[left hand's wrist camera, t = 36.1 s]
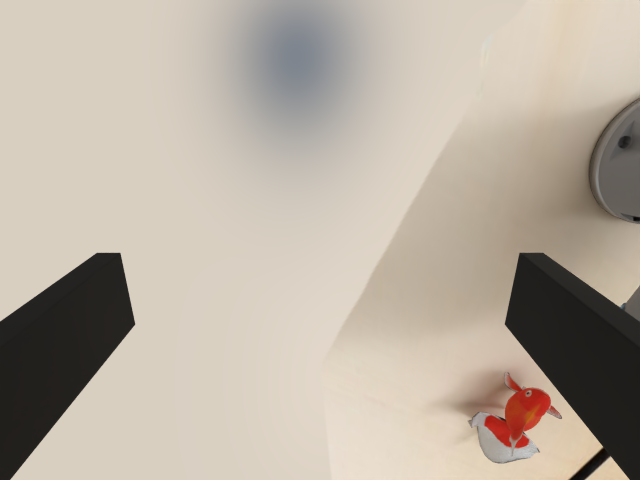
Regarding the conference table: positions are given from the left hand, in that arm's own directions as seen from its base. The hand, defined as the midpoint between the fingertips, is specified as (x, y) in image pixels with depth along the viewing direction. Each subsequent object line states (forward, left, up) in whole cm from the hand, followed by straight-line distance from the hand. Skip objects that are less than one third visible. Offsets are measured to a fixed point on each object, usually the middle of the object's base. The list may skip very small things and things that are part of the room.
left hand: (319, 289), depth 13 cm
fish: (+46, +8, -33) cm, 57 cm away
